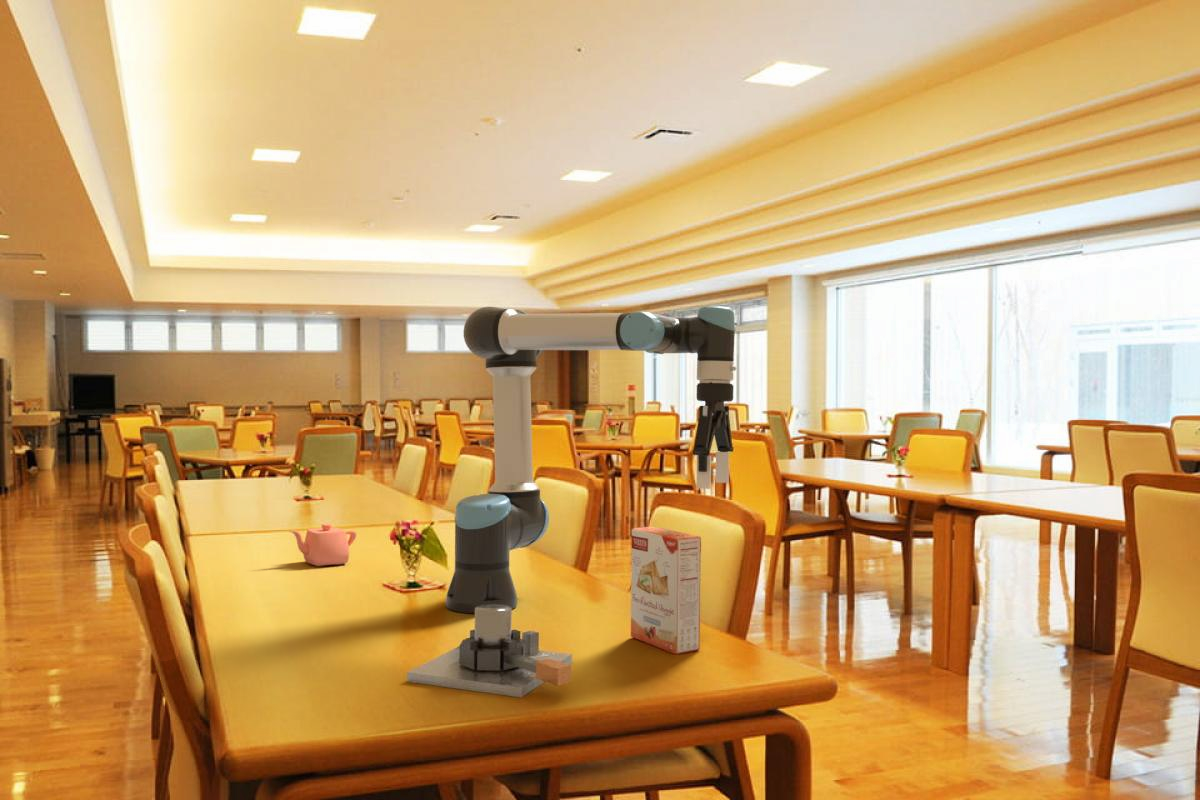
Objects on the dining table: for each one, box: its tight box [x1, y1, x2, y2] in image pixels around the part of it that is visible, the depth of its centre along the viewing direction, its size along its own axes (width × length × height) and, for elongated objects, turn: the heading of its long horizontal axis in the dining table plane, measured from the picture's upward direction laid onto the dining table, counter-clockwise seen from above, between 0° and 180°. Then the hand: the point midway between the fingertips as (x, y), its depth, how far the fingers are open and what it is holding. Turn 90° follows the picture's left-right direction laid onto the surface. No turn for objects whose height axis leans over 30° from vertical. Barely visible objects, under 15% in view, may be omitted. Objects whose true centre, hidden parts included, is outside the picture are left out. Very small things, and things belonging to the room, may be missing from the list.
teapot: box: [289, 523, 358, 567], centre depth 252 cm, size 12×18×10 cm, turn 124°
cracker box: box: [630, 526, 702, 655], centre depth 176 cm, size 14×6×21 cm, turn 34°
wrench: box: [459, 629, 572, 687], centre depth 153 cm, size 23×10×4 cm, turn 44°
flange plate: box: [406, 604, 573, 698], centre depth 158 cm, size 20×20×10 cm
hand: (713, 485), depth 197 cm, fingers open, 13 cm apart
